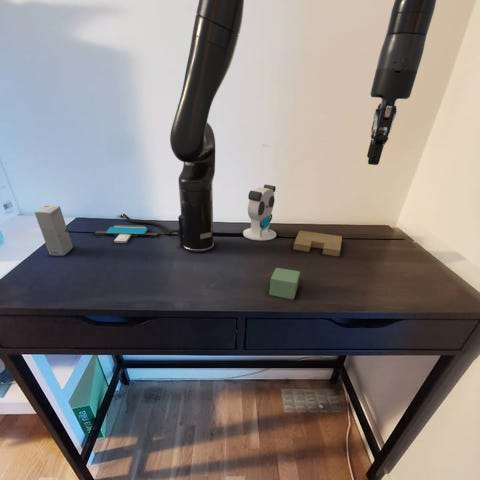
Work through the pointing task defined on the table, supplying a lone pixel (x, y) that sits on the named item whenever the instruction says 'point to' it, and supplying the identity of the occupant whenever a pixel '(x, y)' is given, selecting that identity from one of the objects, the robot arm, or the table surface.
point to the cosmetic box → (54, 230)
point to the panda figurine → (261, 213)
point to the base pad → (318, 242)
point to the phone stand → (126, 232)
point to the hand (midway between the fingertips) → (372, 161)
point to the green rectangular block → (284, 283)
